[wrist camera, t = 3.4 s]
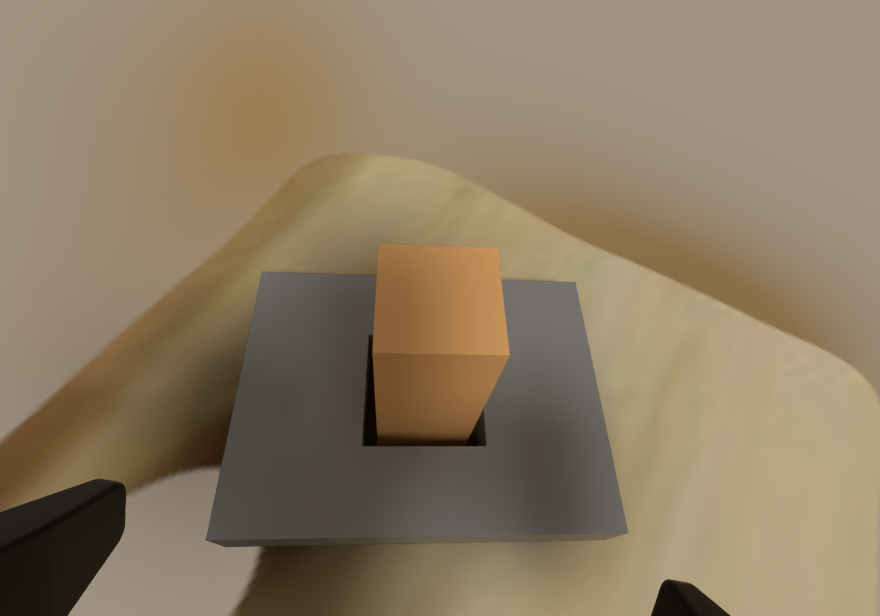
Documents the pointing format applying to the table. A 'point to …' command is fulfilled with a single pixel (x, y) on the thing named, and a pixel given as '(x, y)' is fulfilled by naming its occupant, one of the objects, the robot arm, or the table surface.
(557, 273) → the table surface
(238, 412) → the jig plate
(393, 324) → the orange bar
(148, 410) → the table surface
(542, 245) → the table surface
